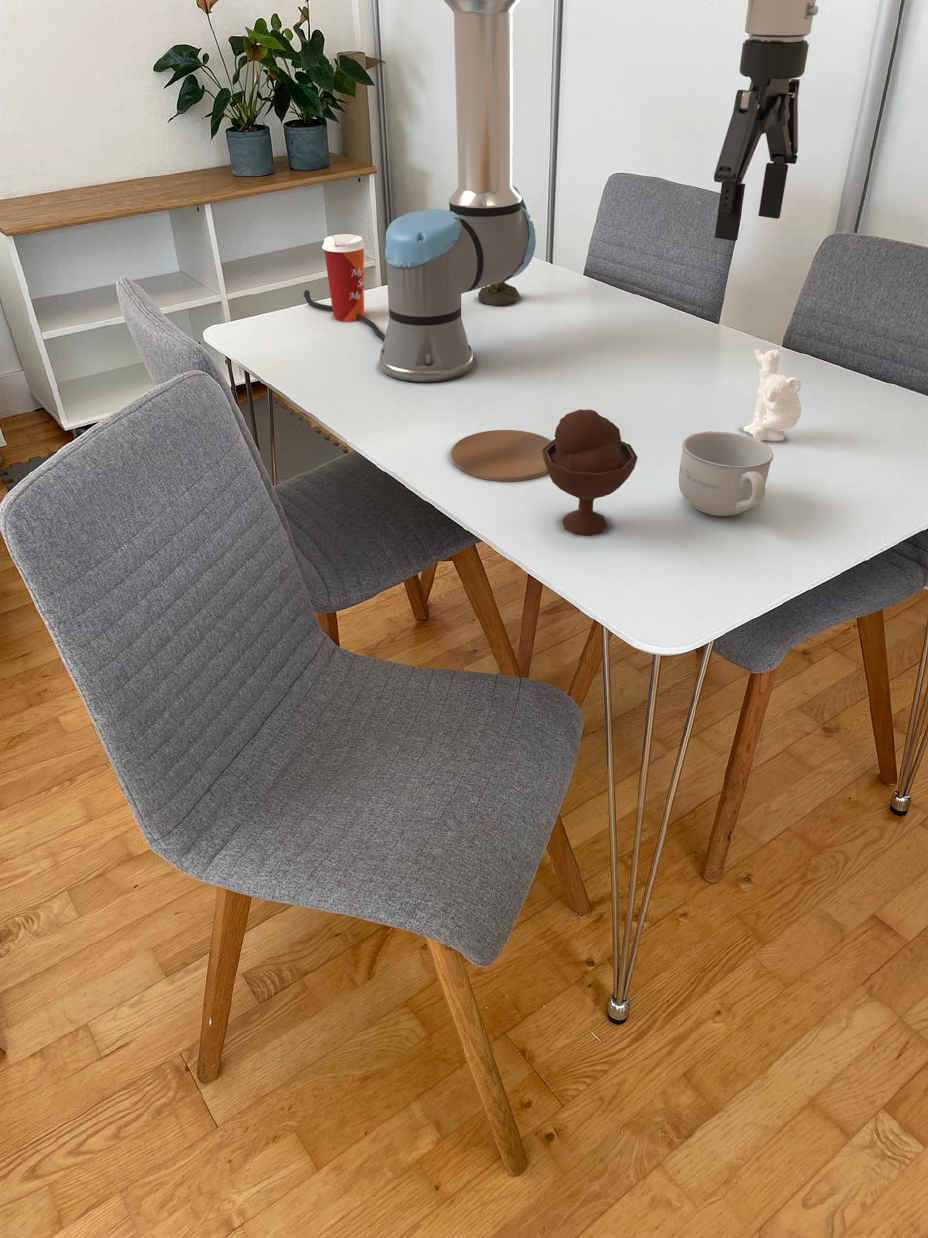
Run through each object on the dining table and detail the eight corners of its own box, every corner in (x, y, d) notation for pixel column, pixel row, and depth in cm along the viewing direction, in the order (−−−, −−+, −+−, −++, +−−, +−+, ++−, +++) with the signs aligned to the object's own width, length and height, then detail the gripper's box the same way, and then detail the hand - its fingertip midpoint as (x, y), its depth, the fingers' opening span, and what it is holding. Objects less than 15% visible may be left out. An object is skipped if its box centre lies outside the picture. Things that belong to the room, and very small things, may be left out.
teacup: (665, 486, 130) (672, 429, 126) (747, 482, 131) (757, 425, 126) (695, 541, 119) (703, 480, 114) (784, 536, 120) (796, 476, 115)
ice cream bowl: (627, 550, 117) (639, 431, 109) (532, 541, 119) (537, 423, 111) (633, 507, 126) (644, 394, 117) (545, 499, 128) (549, 387, 119)
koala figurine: (727, 429, 145) (740, 348, 138) (765, 421, 147) (779, 341, 140) (766, 453, 138) (781, 369, 131) (804, 443, 141) (821, 360, 134)
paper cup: (367, 323, 184) (362, 244, 176) (325, 323, 184) (318, 244, 176) (371, 309, 190) (366, 232, 182) (330, 309, 191) (324, 232, 183)
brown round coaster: (428, 460, 137) (428, 456, 137) (496, 424, 147) (496, 420, 146) (516, 492, 129) (516, 488, 129) (581, 452, 139) (582, 448, 139)
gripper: (764, 49, 107) (735, 253, 120) (845, 30, 124) (811, 212, 136) (700, 45, 111) (677, 243, 123) (786, 27, 127) (759, 204, 140)
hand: (748, 227), depth 130 cm, fingers open, 13 cm apart
